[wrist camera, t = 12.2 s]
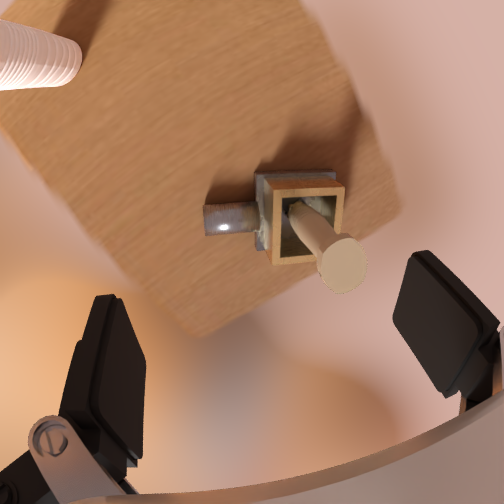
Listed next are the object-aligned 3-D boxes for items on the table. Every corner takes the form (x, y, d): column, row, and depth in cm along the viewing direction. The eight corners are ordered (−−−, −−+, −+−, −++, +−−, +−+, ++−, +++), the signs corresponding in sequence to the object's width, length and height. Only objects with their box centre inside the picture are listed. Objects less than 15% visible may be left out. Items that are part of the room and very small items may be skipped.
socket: (200, 175, 39) (202, 190, 34) (331, 169, 42) (352, 183, 36) (206, 250, 45) (209, 275, 39) (325, 239, 47) (342, 260, 42)
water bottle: (57, 96, 30) (-81, 126, 9) (31, 66, 27) (-108, 74, 6) (105, 47, 29) (-6, 5, 7) (78, 17, 26) (-39, -37, 4)
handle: (304, 183, 41) (359, 230, 28) (319, 222, 44) (371, 279, 31) (272, 198, 41) (313, 253, 28) (289, 237, 44) (331, 300, 31)
